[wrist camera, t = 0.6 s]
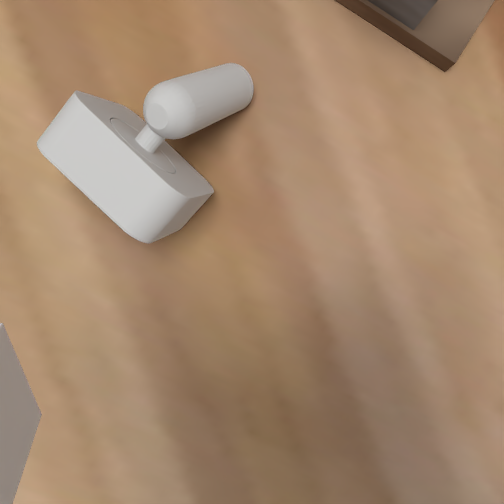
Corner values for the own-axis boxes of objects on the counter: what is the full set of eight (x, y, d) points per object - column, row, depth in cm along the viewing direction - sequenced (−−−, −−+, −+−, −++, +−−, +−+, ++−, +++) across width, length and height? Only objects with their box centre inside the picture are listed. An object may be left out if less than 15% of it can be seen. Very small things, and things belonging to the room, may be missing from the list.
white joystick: (291, 114, 31) (280, 90, 21) (192, 224, 33) (141, 248, 24) (203, 30, 31) (152, -32, 21) (110, 147, 33) (24, 138, 23)
